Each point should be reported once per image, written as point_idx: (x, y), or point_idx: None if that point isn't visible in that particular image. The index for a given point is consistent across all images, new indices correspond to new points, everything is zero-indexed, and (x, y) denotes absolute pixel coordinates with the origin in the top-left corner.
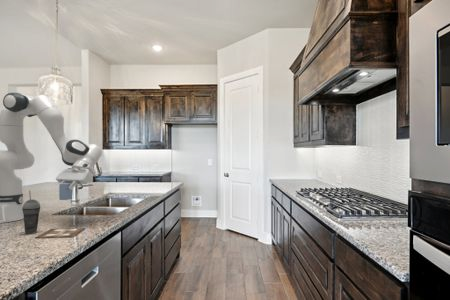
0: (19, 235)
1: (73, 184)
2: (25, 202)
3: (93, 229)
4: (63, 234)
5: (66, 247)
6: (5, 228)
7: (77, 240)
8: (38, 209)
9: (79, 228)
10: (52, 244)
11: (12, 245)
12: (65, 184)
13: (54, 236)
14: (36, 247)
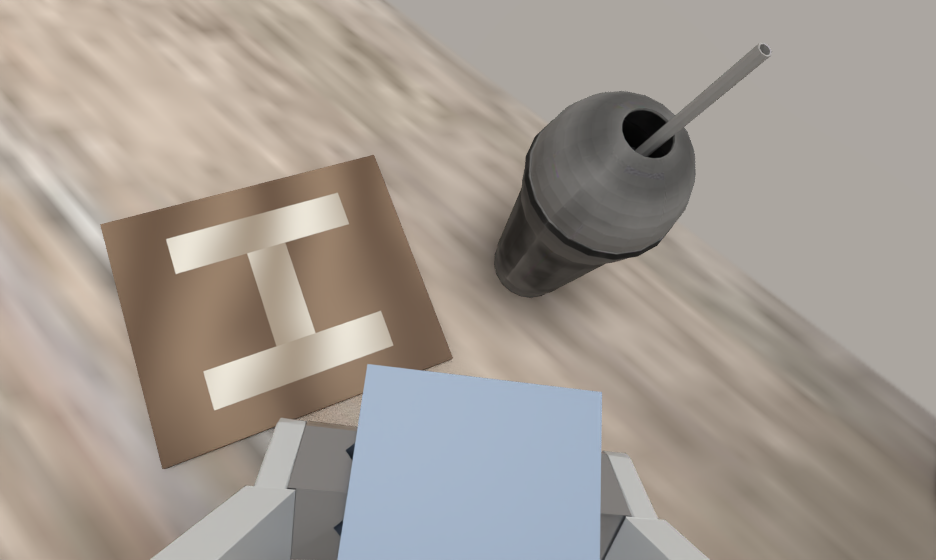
0: None
1: (186, 557)
2: (656, 101)
3: (65, 477)
4: (219, 245)
5: (5, 43)
6: (780, 304)
7: (19, 172)
8: (528, 198)
9: (206, 432)
10: (152, 78)
11: (386, 38)
12: (368, 374)
13: (252, 192)
14: (213, 25)
